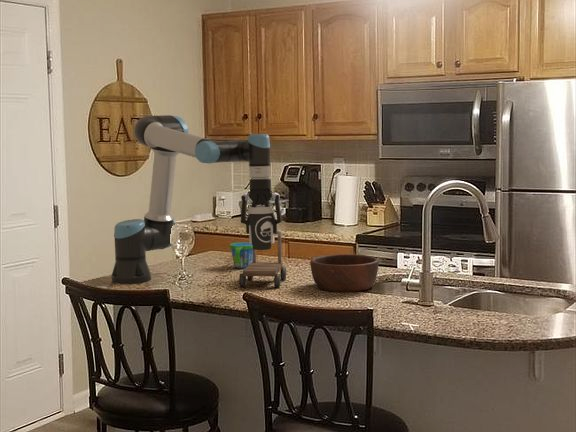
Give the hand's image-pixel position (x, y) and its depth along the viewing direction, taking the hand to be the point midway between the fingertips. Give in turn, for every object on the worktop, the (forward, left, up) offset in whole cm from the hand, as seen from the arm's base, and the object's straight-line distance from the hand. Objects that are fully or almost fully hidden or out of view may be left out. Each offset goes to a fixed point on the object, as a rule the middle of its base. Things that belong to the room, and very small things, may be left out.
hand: (262, 242), depth 273 cm
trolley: (-3, +16, -18) cm, 24 cm away
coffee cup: (0, 0, -2) cm, 2 cm away
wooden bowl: (+28, +12, -18) cm, 36 cm away
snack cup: (-18, +49, -18) cm, 56 cm away
